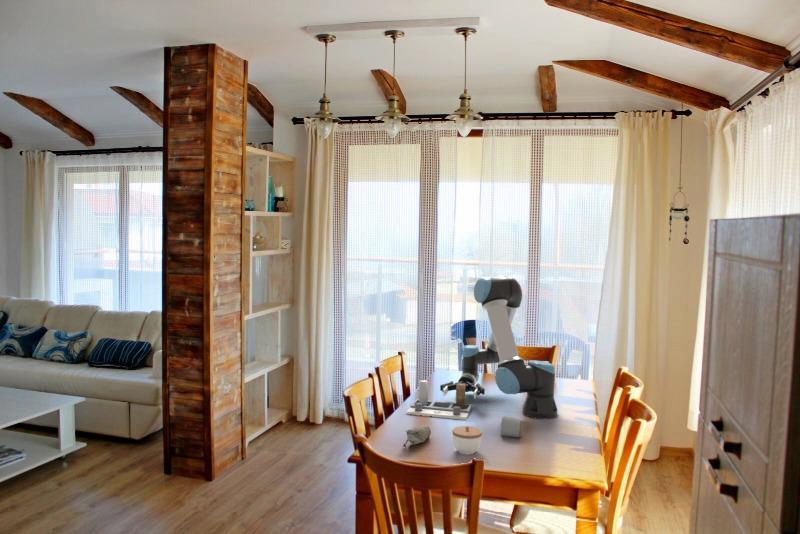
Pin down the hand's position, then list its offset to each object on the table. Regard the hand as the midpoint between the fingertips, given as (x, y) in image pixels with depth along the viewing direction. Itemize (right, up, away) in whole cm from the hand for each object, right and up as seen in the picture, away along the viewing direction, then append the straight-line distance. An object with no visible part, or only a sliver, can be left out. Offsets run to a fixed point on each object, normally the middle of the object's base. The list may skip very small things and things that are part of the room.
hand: (459, 394), depth 264 cm
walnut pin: (+1, -8, +4) cm, 9 cm away
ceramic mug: (+18, -11, -27) cm, 34 cm away
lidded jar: (-2, -12, -45) cm, 47 cm away
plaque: (-10, -9, -3) cm, 13 cm away
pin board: (-7, -8, +6) cm, 12 cm away
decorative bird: (-19, -11, -38) cm, 44 cm away
